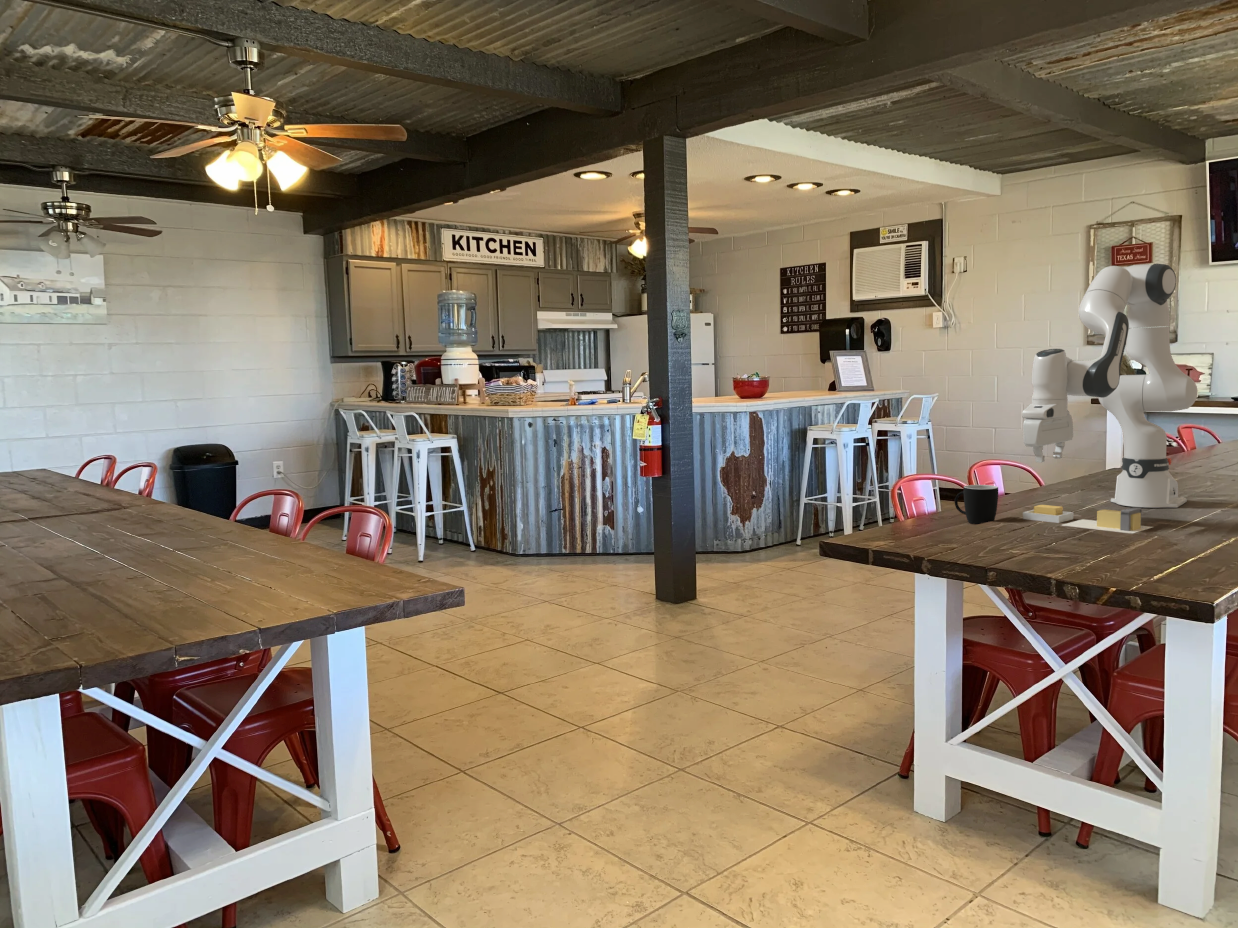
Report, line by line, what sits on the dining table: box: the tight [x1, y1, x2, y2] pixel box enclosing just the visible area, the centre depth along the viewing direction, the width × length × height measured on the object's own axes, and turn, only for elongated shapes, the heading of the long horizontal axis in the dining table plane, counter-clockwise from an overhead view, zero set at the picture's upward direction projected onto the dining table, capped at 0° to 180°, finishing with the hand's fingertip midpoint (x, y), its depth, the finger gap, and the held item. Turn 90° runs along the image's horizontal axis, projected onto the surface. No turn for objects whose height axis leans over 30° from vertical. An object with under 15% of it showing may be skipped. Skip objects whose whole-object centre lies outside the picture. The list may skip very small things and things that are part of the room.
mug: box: [954, 484, 999, 525], centre depth 256 cm, size 12×9×10 cm
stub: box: [1033, 504, 1064, 516], centre depth 251 cm, size 4×6×4 cm, turn 38°
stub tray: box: [1022, 509, 1074, 524], centre depth 251 cm, size 8×10×3 cm
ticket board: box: [1061, 506, 1154, 534], centre depth 237 cm, size 12×18×6 cm, turn 38°
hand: (1048, 460), depth 249 cm, fingers open, 8 cm apart
